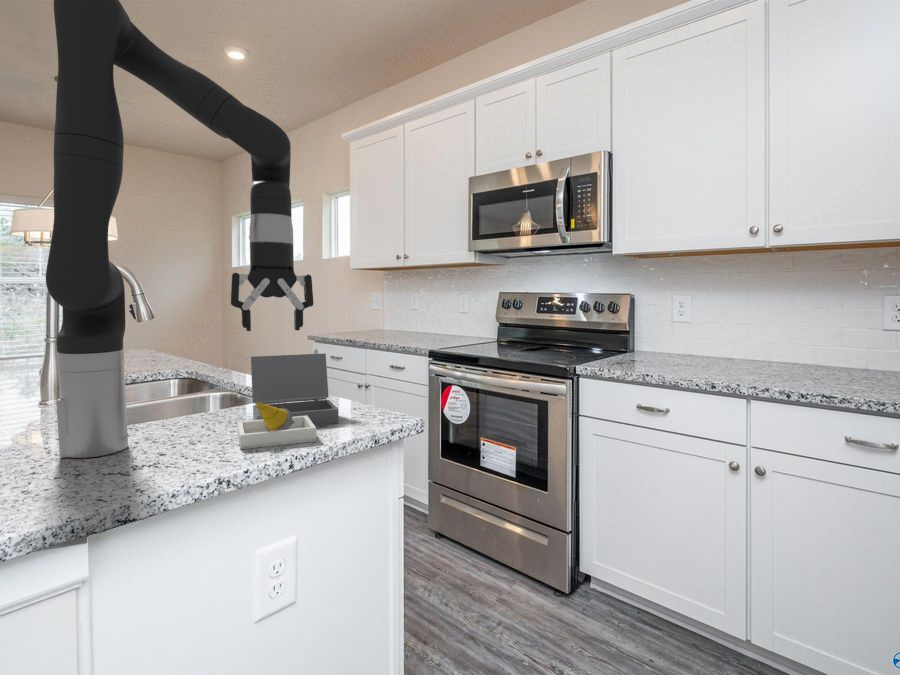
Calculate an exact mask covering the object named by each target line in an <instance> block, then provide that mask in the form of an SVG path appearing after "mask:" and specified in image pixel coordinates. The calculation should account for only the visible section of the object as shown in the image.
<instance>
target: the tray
mask: <svg viewBox="0 0 900 675" xmlns="http://www.w3.org/2000/svg"><path fill="white" fill-rule="evenodd" d="M292 420H293V421H295V422H294V423H293V424H292V425H291V426H290V427H289V429H288V430H278V431H267V430H266V424H265V422H264V420H263V419H262V420H253V419H252V420H245V421H244V420H240V421H237V438H238V443H239V448H240V450H247V449H255V448H256V449H257V448H258V447H259V448H267V447H275V446H283V445H293V444H302V443H311V442H317V427H316V425H315V426H314V424H313V423H312V421H311V420H310V419H309V417H308V416H307V415H306V416H295V417H292Z"/></svg>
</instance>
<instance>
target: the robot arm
mask: <svg viewBox="0 0 900 675" xmlns="http://www.w3.org/2000/svg"><path fill="white" fill-rule="evenodd" d="M53 17H54V26H55V28H54V29H55V35H56V47H57V69H58V70H57V80H56V81H57V83H56V96H55V100H56V101H55V119H54V120H55V122H54V131H53V132H54V135H53V225H52V234H51V240H50V247H49V253H48V258H47V263H46V264H47V265H46V268H45V270H46V271H45V284H46V285H45V286H46V288H47V292H48V293H49V295H50V296H51V298H52V299H53V301H54V302H55V303H57V304H58V306H61V307H62V322H61V326H60V330H59V332H58V334H57V337H56V342H55V343H56V353H57V354H56V355H57V356H56V357H57V367H58V368H57V371H58V385H59V398H58V399H57V400H56V403H55V405H56V416H57V434H58V446H59V447H58V449H59V450H58V451H59V458H60V459H62V458H71V459H72V458H73V459H75V458H76V459H86V458H93V457H94V458H96V457H102V456H106V455H111V454H115V453H119V452H120V451H123V450H125V449H127V448H128V447H129V432H128V431H129V430H128V414H127V412H128V411H127V394H126V392H127V390H126V389H127V388H126V374H125V357H124V356H125V354H124V352H125V350H124V337H125V333H126V332H125V331H126V296H125V294H126V292H125V282H124V278H123V275H122V273H121V271H120V269H119V268H118V267H117V265H116V264H114V263H113V262H112V261H110V257H109V256H110V255H109V226H110V222H111V221H110V220H111V216H112V212H113V211H114V207H115V204H116V202H117V199H118V195H119V192H120V189H121V185H122V178H123V172H124V150H125V149H124V148H125V147H124V141H125V140H124V131H123V125H122V124H123V123H122V118H121V114H120V113H121V112H120V109H119V107H120V106H119V103H118V99H117V93H116V88H115V81H114V80H115V79H114V66H116V67H118V68H120V69H122V70H124V71H125V72H127V73H129V74H130V75H133V76H134V77H136V78H137V79H139V80H140V81H142V82H144V83H146V84H147V85H148V86H151V87H152V88H153V89H154V90H156V91H158V92H159V93H161V94H162V95H163V96H164V97H166V98H167V99H169V101H171V102H172V103H174V104H175V105H177V106H178V107H179V108H180V109H182V110H183V111H185V112H186V113H187V114H188V115H190V116H191V117H192V118H194V119H195V120H196V121H198V122H199V123H201V124H202V125H203V126H205V127H206V128H207V129H209V130H210V131H212V132H213V133H215V134H217V135H218V136H219V137H221V138H223V139H228V140H230V141H232V142H233V143H234V144H236V145H237V146H238V147H239V148H241V149H243V150H244V151H245V152H247V153H248V154H249V155H250V161H251V181H252V185H251V188H250V197H249V198H250V200H249V202H250V205H249V206H250V220H249V235H248V239H249V265H250V266H249V273H248V274H244V273H238V272H233V273H232V274H231V282H230V284H231V286H230V287H231V288H230V305H231V306H233V307H234V308H238V309H240V310H241V325H242V327H243V329H246V330H245V331H246V332H251V331H252V321H251V320H252V319H251V317H252V314H251V307H252V305H253V304H254V303H255V302H256V300H258V298H259V297H262V298H271V297H275V298H284V297H286V298H287V299H288V300H289V301H290V303H291V304H292V306H293V307H294V310H293V319H294V324H293V326H294V331H300V328H303V326H304V310H305V309H307V308H310V307H313V305H314V292H313V277H312V275H310V274H305V275H296V273H295V268H294V260H295V259H294V227H293V220H292V216H293V215H292V214H293V213H292V195H291V189H290V186H291V185H290V184H291V183H290V182H291V181H290V180H291V158H292V157H291V156H292V155H291V154H292V153H291V146H292V145H291V141H290V138H289V136H288V135H287V134H288V133H286V132H285V131H284V130H283V129H282V127H280V126H279V125H278V124H277V123H275V122H274V121H272V120H271V119H269V118H268V117H267V116H265V115H263V114H261V113H259V112H258V111H256V110H255V109H253V108H251V107H249V106H246V105H245V104H243V103H242V101H240V100H239V99H238V98H236V97H235V96H234V95H233V94H231V93H230V92H229V91H227V90H226V89H224V87H222V86H221V85H219V84H218V83H216V82H215V81H214V80H212V79H211V78H210V77H208V76H207V75H205V74H203V73H202V72H200V71H198V70H196V69H195V68H192V67H191V66H189V65H187V64H184V63H183V62H181V61H179V60H177V59H176V58H174V57H172V56H171V55H170V54H168V53H166V52H165V51H163V50H162V49H161V48H160V47H159V46H157V45H156V44H154V43H153V41H152V40H150V39H149V38H148V37H147V36H146V35H145V33H143V32H142V31H141V30H140V29H139V27H137V26H136V25H135V24H134V23H133V22H132V21H131V18H130V16H129V15H128V13H127V11H126V10H125V8H124V6H123V5H122V3H121V1H120V0H53ZM245 281H248V282H249V284H250V286H252V287H253V290H252V291H251V292H250V293H249V295H248V296H247V297H246V299H245V300H244V301H242V300H239V298H240V286H243V285H244V284H245ZM296 282H299V285H300V286H301V287H303V294H304V295H303V296H304V300H303V301H301V300H300V299H299V298H298V297H297V296H298V295H297V294H295V292H294V291H293V290H292V288H293V287H294V285H295V284H296Z"/></svg>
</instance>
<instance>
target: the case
mask: <svg viewBox="0 0 900 675" xmlns="http://www.w3.org/2000/svg"><path fill="white" fill-rule="evenodd" d="M266 405H269V406H273V407H276V408H280V409H281V408H286V409H288V410H289V411H290V412H291V413H292V417H295V416H306V415H307V416H308V417H309V419H310V420H311V421H312V423H313V424H314V426H315V427H316V426H323V425H325V426H326V425H332V424H333V425H334V424H339V408H338V407H337V406H336V405H335V404H334V403H333V402H332V401H331V400H330V399H324V400H316V401H314V400H311V401H298V402H286V403H273V404H266ZM262 419H263V418H262V416H261V414H260V412H259V409H258V407H257V405H255V404H254V405H252V420H262Z"/></svg>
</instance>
